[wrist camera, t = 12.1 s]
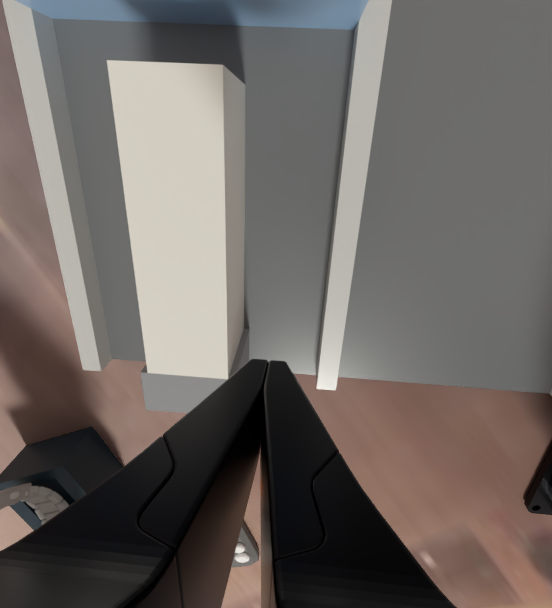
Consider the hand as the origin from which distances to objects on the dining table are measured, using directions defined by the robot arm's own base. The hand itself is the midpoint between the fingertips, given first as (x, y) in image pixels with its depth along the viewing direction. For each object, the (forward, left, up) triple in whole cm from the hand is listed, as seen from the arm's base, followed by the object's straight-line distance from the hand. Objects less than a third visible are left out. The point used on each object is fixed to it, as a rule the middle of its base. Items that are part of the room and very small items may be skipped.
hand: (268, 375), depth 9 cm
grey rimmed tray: (+2, -3, -10) cm, 10 cm away
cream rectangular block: (+2, +4, -9) cm, 10 cm away
